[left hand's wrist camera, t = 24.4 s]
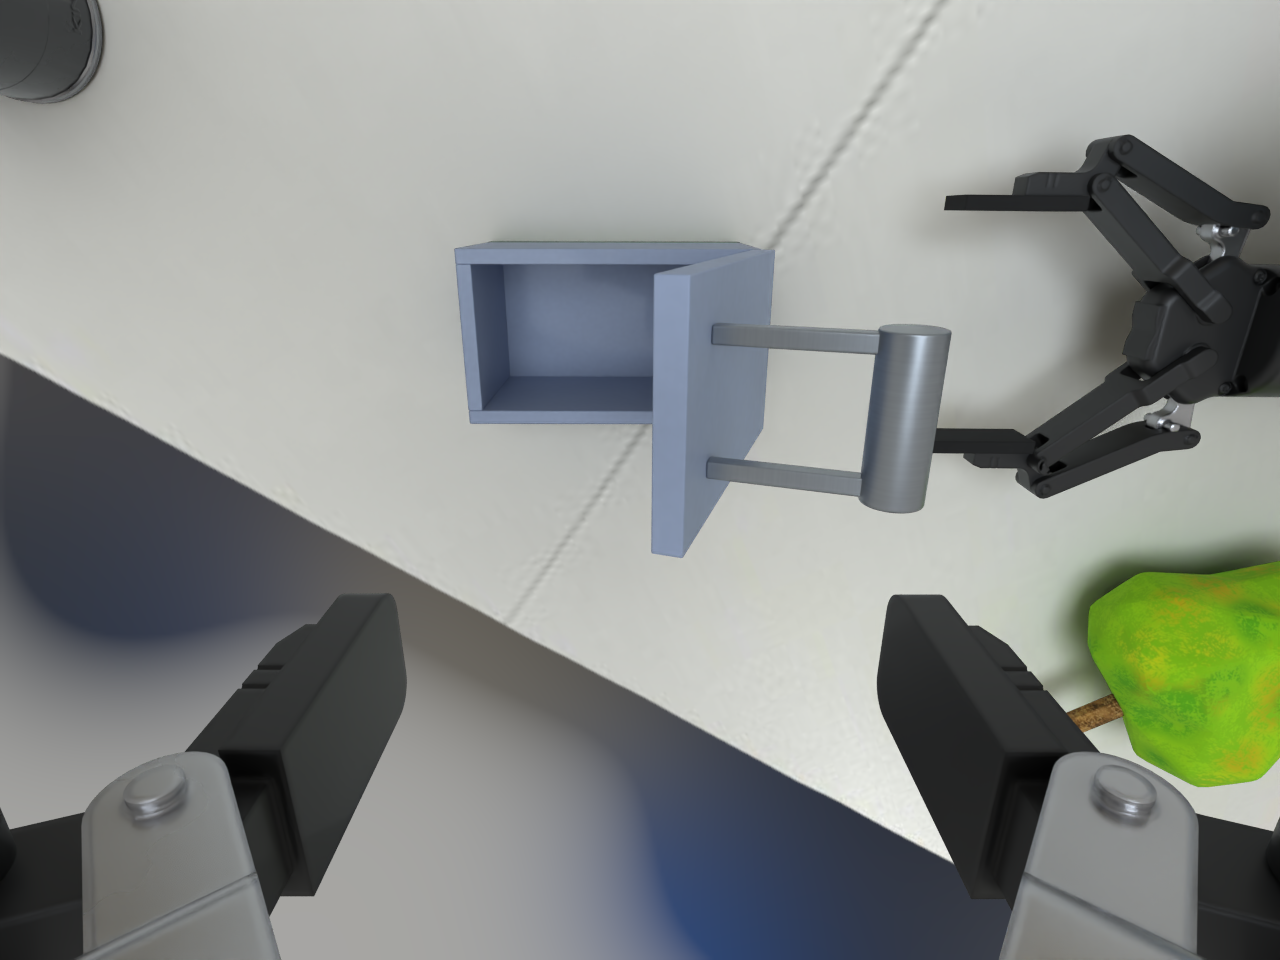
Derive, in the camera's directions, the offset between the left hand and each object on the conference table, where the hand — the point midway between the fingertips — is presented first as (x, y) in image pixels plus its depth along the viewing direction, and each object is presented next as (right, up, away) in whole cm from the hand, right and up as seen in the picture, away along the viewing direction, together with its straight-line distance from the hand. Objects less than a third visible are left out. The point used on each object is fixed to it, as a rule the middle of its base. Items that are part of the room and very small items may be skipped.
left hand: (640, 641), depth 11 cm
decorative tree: (+38, -11, +45) cm, 60 cm away
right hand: (+17, +11, +29) cm, 36 cm away
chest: (-2, +14, +36) cm, 38 cm away
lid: (+3, +7, +19) cm, 20 cm away
